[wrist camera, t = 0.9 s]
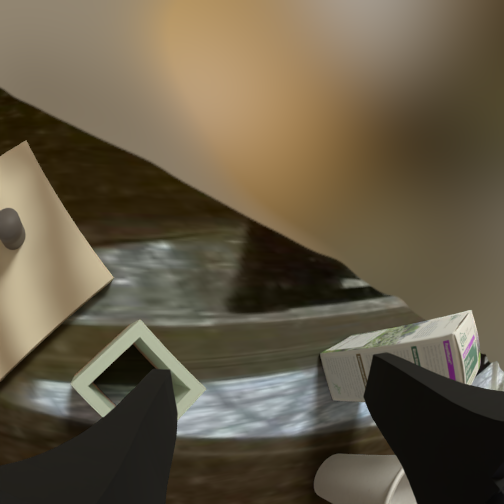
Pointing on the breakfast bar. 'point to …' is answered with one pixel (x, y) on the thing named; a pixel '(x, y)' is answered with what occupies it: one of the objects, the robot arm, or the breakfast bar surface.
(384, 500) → the dixie cup
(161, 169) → the breakfast bar surface
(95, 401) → the sleeve
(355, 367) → the syrup box
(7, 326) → the pin board
